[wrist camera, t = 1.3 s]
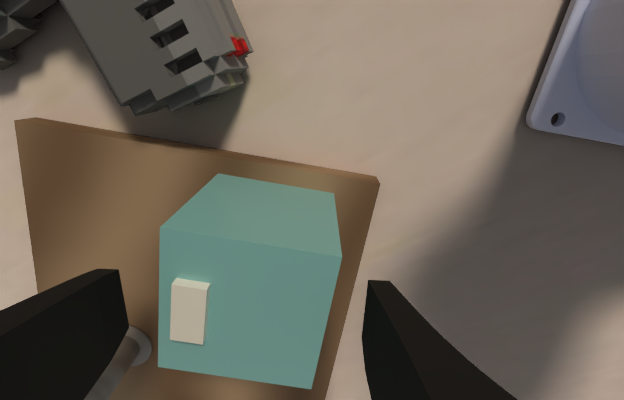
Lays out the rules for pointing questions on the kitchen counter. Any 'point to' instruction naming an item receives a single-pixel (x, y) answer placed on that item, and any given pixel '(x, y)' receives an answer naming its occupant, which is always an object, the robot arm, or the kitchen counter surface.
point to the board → (146, 239)
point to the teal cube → (248, 281)
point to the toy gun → (147, 46)
